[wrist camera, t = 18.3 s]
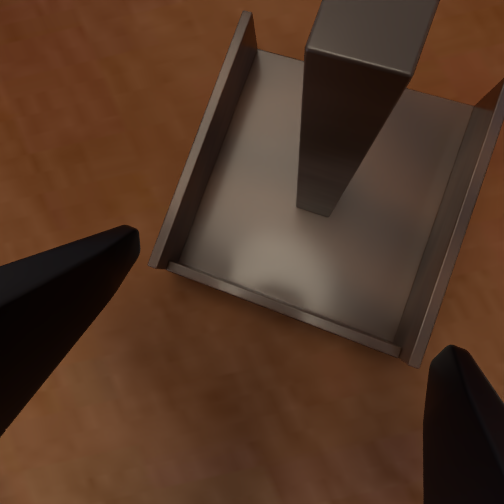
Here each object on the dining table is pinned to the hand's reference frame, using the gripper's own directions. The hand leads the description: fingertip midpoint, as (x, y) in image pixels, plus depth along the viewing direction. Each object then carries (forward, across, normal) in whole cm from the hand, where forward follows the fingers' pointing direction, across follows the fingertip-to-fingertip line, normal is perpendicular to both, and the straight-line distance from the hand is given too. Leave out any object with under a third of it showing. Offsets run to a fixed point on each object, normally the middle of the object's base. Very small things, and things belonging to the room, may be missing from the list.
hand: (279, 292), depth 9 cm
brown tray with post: (+10, 0, +2) cm, 10 cm away
